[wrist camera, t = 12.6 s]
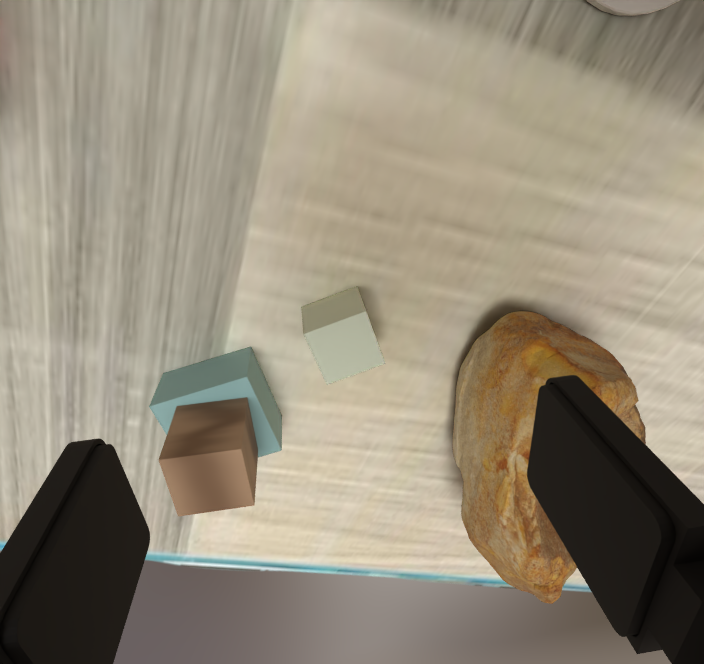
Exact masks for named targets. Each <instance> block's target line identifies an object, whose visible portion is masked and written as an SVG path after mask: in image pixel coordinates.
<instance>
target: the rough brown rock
mask: <svg viewBox="0 0 704 664" xmlns="http://www.w3.org/2000/svg"><path fill="white" fill-rule="evenodd" d="M568 375H577V376H578V377H579V378H580V379H581V380H582V381H583V382H584V383H585V384H586V385H587V386H588V387H589V388H590V389H591V390H592V391H593V392H594V393H595V394H596V395H597V396H598V397H599V398H600V399H601V400H602V401H603V402H604V403H605V404H606V405H607V406H608V407H609V408H610V409H611V410H612V411H613V412H614V413H615V414H616V415H617V416H618V417H619V418H620V419H621V420H622V421H623V422H624V423H625V424H626V426H627V427H628V428H629V429H630V430H631V431H632V432H633V433H634V434H635V435H636V436H637V437H638V438H639V439H640V440H641V441H642V442H643V443H644V444H646V442H645V426H644V424H643V422H642V420H641V418H640V414H639V411H638V409H637V407H636V405H635V404H636V403H637V402H638V397H637V393H636V388H635V386H634V384H633V383H632V380H631V379H630V378H629V377H628V375H627V373H626V371H625V370H624V368H623V366H622V365H621V364H620V363H619V362H618V361H617V359H616V358H615V357H614V356H613V355H612V354H611V353H610V352H608V351H607V350H606V349H604V348H602V347H601V346H600V345H598V344H596V343H595V342H593V341H592V340H590V339H588V338H586V337H584V336H581V335H578V334H577V333H575V332H574V331H572V330H570V329H569V328H567V327H565V326H563V325H561V324H559V323H556V322H553V321H551V320H549V319H547V318H546V317H545V316H543V315H540V314H538V313H533V312H526V311H519V312H512V313H508V314H506V315H505V316H503V317H502V318H500V319H499V320H498V321H497V322H496V323H495V324H494V325H493V326H492V327H491V328H490V329H489V330H488V331H486V332H485V333H484V334H482V335H481V336H480V337H479V338H478V339H477V340H476V341H475V342H474V343H473V345H472V347H471V349H470V351H469V353H468V354H467V356H466V358H465V360H464V361H463V363H462V365H461V367H460V371H459V376H458V381H457V387H456V407H455V416H454V431H453V440H452V448H453V454H454V458H455V461H456V463H457V466H458V467H459V469H460V470H461V474H462V478H463V480H464V484H463V499H462V505H461V507H462V510H461V516H462V520H463V523H464V525H465V528H466V530H467V533H468V536H469V539H470V540H471V542H472V543H473V545H474V546H475V547H476V549H477V550H478V551H479V552H480V553H481V554H482V556H483V557H484V558H485V559H486V560H487V561H488V562H489V563H490V565H491V566H492V567H493V568H494V569H495V571H496V572H497V573H498V574H499V576H500V577H501V578H502V579H503V580H504V581H505V582H506V583H508V584H509V585H511V586H513V587H515V588H517V589H519V590H521V591H526V592H529V593H531V594H533V595H535V596H536V597H537V598H538V599H539V600H541V601H542V602H545V603H554V602H555V601H556V600H557V599H558V598H559V597H560V596H561V591H562V587H563V585H564V584H565V582H566V580H567V579H568V578H569V577H570V576H571V575H572V574H573V573H574V571H575V570H576V568H577V566H576V564H575V562H574V561H573V559H572V557H571V556H570V554H569V552H568V551H567V549H566V547H565V546H564V544H563V542H562V541H561V539H560V537H559V535H558V534H557V532H556V530H555V529H554V527H553V525H552V524H551V522H550V520H549V519H548V517H547V515H546V514H545V512H544V510H543V508H542V507H541V505H540V503H539V502H538V500H537V498H536V497H535V495H534V493H533V492H532V490H531V488H530V486H529V483H528V479H527V468H528V461H529V454H530V447H531V441H532V434H533V427H534V420H535V413H536V406H537V399H538V392H539V388H540V387H541V386H543V385H545V384H546V381H547V380H548V379H549V378H553V377H560V376H568Z"/></svg>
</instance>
